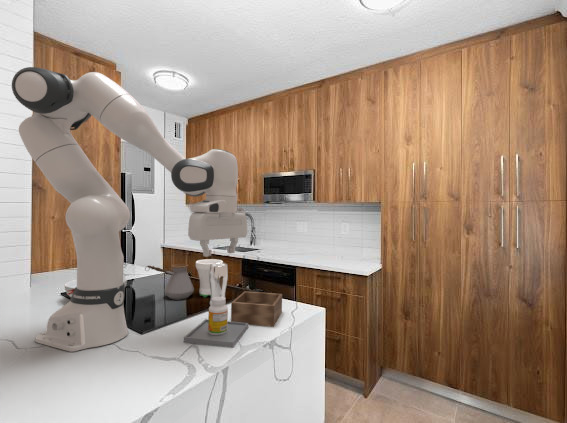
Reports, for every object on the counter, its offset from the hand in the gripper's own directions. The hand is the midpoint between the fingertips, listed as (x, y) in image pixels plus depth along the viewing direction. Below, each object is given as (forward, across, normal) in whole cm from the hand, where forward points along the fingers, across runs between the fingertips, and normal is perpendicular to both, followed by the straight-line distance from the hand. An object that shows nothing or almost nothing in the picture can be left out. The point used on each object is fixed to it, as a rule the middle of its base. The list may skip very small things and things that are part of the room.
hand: (219, 254), depth 88 cm
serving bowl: (+24, +4, -63) cm, 67 cm away
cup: (+23, -26, -32) cm, 48 cm away
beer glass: (+23, -21, -21) cm, 37 cm away
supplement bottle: (+22, 0, 0) cm, 23 cm away
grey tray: (+23, 0, 0) cm, 23 cm away
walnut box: (+23, -18, 0) cm, 29 cm away
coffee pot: (+24, -12, -39) cm, 47 cm away
